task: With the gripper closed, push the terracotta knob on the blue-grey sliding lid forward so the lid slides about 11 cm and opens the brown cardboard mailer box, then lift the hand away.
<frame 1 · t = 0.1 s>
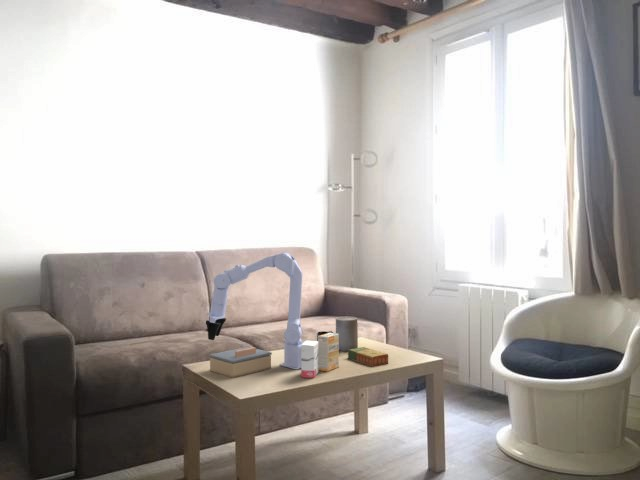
hand: (213, 337, 219), 11 cm above the table, tool pointing down, fingers open, 7 cm apart
pillar candle: (346, 349, 246), on the table
carton: (367, 362, 225), on the table
ink box: (309, 375, 204), on the table
mug: (325, 360, 226), on the table
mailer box: (240, 369, 211), on the table
lid: (240, 351, 211), point 7 cm above the table, slide at 0.0 cm
supplement box: (328, 369, 213), on the table
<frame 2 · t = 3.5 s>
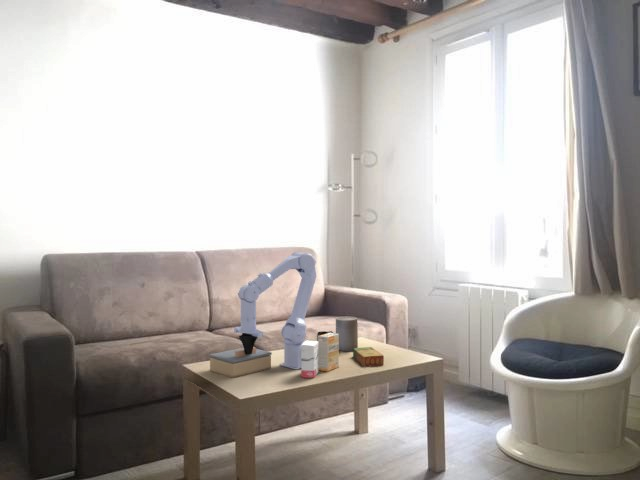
hand: (248, 354, 208), 7 cm above the table, tool pointing down, fingers closed
lid: (240, 351, 211), point 7 cm above the table, slide at 0.0 cm, touching gripper
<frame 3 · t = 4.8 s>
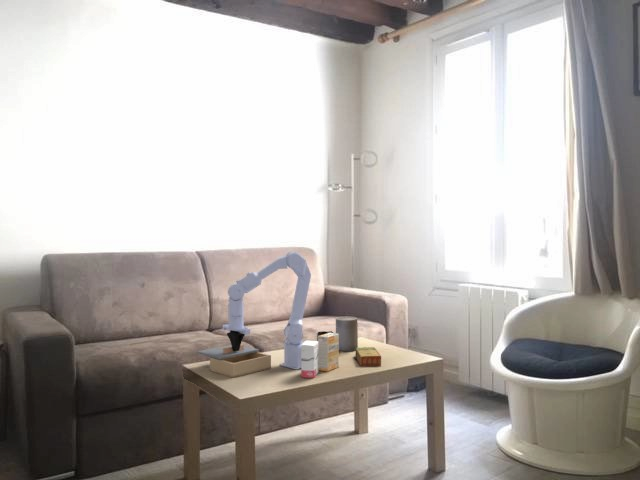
hand: (236, 350, 213), 7 cm above the table, tool pointing down, fingers closed
lid: (228, 348, 216), point 7 cm above the table, slide at 7.5 cm, touching gripper
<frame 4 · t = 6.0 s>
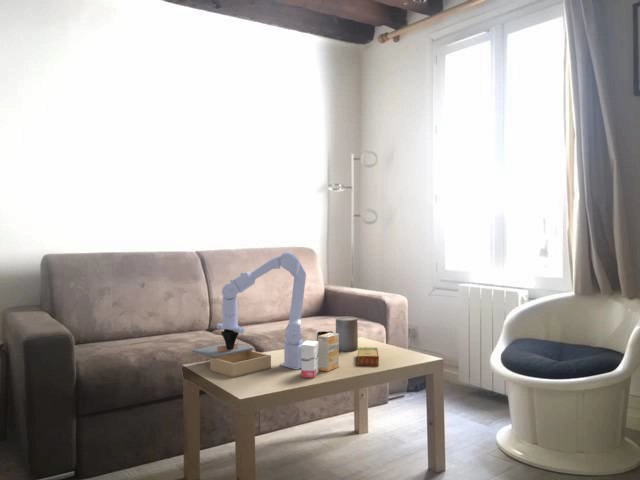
hand: (230, 349, 215), 7 cm above the table, tool pointing down, fingers closed
lid: (222, 347, 219), point 7 cm above the table, slide at 11.2 cm, touching gripper
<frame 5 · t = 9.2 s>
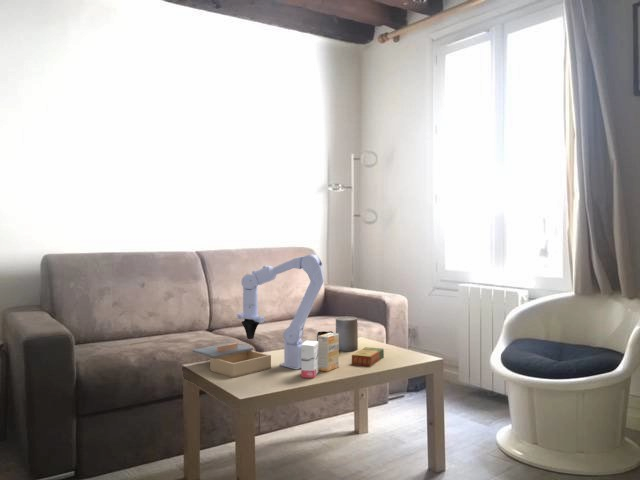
hand: (250, 338, 219), 10 cm above the table, tool pointing down, fingers closed
lid: (222, 347, 219), point 7 cm above the table, slide at 11.2 cm
at the end: lid slide at 11.2 cm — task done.
